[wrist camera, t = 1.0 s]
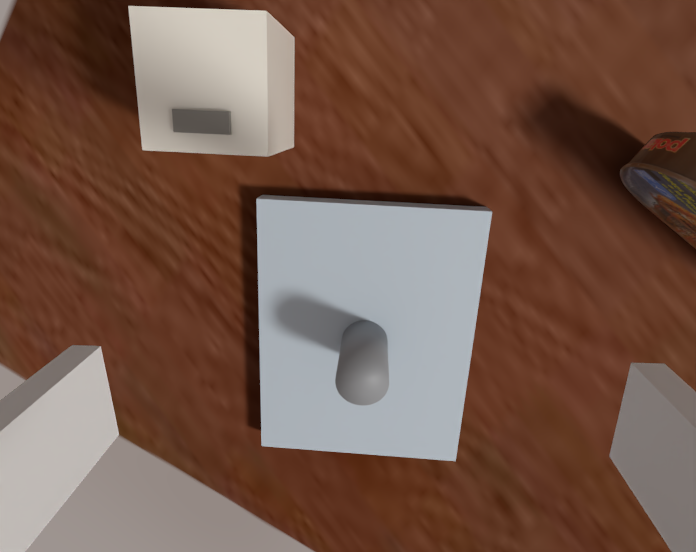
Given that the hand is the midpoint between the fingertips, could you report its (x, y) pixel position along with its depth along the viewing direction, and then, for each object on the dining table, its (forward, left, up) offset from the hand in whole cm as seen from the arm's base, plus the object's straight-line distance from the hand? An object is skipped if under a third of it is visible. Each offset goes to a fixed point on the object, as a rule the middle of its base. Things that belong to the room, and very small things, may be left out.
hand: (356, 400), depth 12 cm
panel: (+7, 0, -19) cm, 20 cm away
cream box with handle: (-8, -8, -19) cm, 22 cm away
